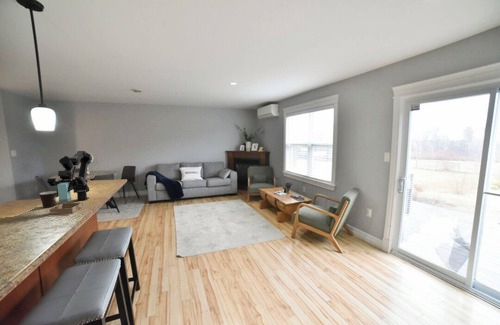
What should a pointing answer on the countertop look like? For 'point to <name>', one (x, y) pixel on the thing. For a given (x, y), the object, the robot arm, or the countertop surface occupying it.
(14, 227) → the countertop surface
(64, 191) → the tea tin
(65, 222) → the countertop surface
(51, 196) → the coffee mug
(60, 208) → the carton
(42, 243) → the countertop surface
